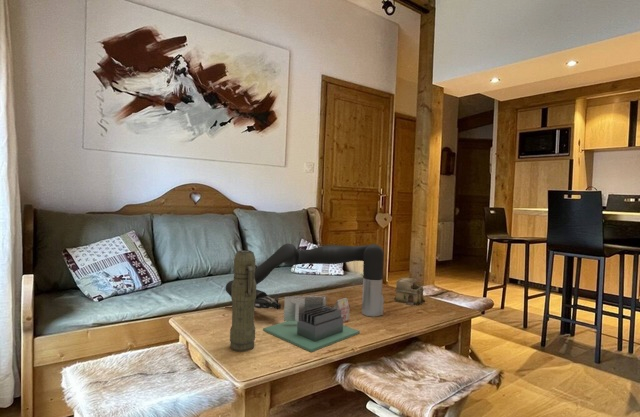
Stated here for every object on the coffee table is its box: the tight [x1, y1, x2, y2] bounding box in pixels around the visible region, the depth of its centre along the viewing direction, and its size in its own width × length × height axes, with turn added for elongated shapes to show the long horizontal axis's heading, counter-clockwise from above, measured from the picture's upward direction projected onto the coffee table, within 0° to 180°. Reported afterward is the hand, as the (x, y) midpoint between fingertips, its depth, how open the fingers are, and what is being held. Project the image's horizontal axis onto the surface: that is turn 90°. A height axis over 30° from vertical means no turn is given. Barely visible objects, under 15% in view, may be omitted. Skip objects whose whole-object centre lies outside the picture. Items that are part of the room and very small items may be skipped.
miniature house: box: [393, 276, 426, 307], centre depth 204 cm, size 15×14×11 cm
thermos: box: [229, 249, 257, 353], centre depth 136 cm, size 9×12×35 cm
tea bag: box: [333, 297, 350, 323], centre depth 168 cm, size 4×7×10 cm, turn 135°
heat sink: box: [262, 295, 361, 353], centre depth 153 cm, size 28×28×16 cm
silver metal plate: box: [283, 295, 327, 322], centre depth 158 cm, size 18×2×10 cm, turn 101°
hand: (279, 306), depth 160 cm, fingers closed
